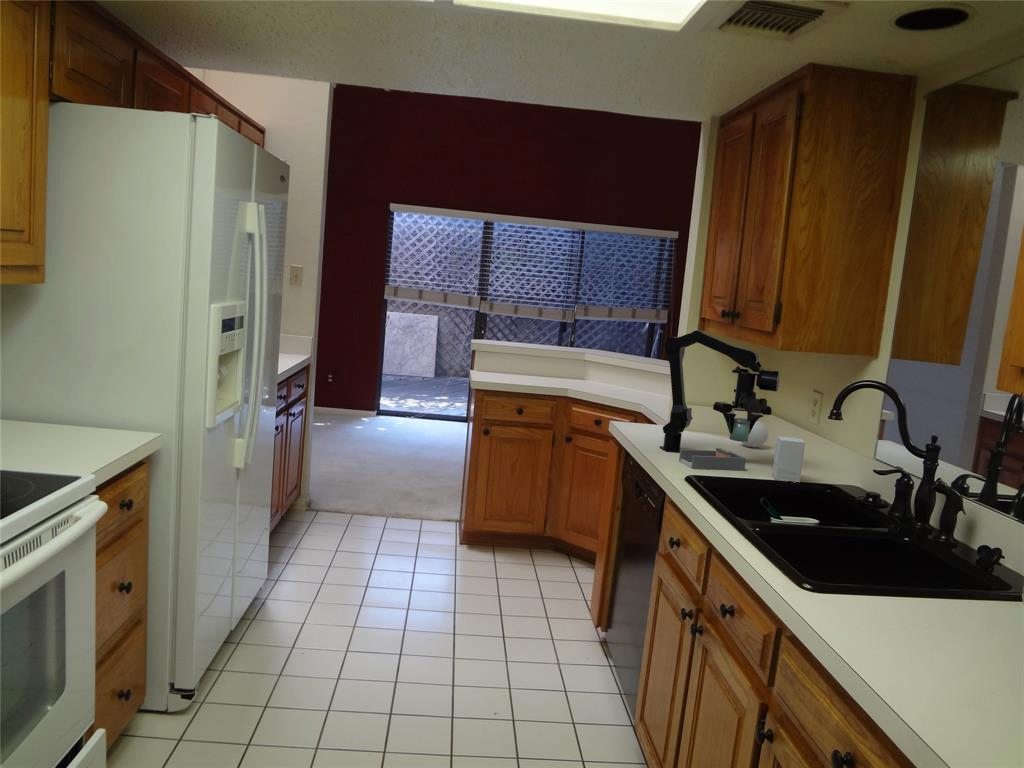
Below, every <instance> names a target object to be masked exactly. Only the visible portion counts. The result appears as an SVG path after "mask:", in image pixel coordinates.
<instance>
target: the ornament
mask: <svg viewBox="0 0 1024 768" xmlns="http://www.w3.org/2000/svg"><path fill="white" fill-rule="evenodd" d="M768 436H769V430H768V427H767V426H766V425H765V423H763V422H762V421H760V420H759V419H758V420H757V421H756V423H755V424H754V426H753V428H752V430H751V432H750V434H749V437H748V442H741V443H742V444H743V445H744V446H746V447H747V448H748V447H749V448H760V447H762V446H764V445H765V443H766V442H767V441H768Z"/></svg>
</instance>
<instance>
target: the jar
mask: <svg viewBox="0 0 1024 768" xmlns="http://www.w3.org/2000/svg"><path fill="white" fill-rule="evenodd" d="M750 424H751V420H749V419H747V418H743V417H735V418H734V424H733V431H732V434H731V433H729V439H728V440H730V441H734V442H740V443H742V442H748V437H749V429H750Z"/></svg>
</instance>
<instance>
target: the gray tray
mask: <svg viewBox="0 0 1024 768" xmlns="http://www.w3.org/2000/svg"><path fill="white" fill-rule="evenodd" d="M727 451H728V452H730V453H732V454H731V457H716V450H711V449H709V450H707V449H704V450H703V449H689V448H687V449H685V448H684V449H683V448H680V452H679V456H678V462H680V463H682V464H683V465H685V466H686V467H688V468H690V469H693V470H714V471H715V470H719V471H745V470H746V463H747V462H746V461H747V458H746V457H744V456H742V455H739V454H737V453H735V452H732V451H731V450H727Z"/></svg>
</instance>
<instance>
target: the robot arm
mask: <svg viewBox="0 0 1024 768" xmlns="http://www.w3.org/2000/svg"><path fill="white" fill-rule="evenodd" d="M694 344H700V345H702V346H703V347H704V346H705V347H706V348H709V349H711V350H713V351H715V352H718V353H720V354H722V355H725V356H726V357H728V358H730V359H731V360H732V361H733V362H734V363H737V365H736V367H735V368H734V369H732V370H731V373H733V374H734V373H735V374H737V379H736V388H734V389H733V393H735V394H734V395H735V396H734V400H732V401H731V403H728V402H726V401H715V402H714V403H713V406H712V409H713V410H714V411H717V412H719V413H721V414H722V415H723V417H724V420H725V423H726V426H727V430H728V432H729V434H730V433H731V434H732V431H733V424H734V418H736V416H737V414H736V413H735V412H737V411H739V412H746V413H747V414H746V416H747V417H746V419H749V420H751V424H750V429H749V434H750V432H751V430H752V428H753V426H754V424H755V423H756V421H757V420H758V421H759V420H760V418H764V416H772V414H773V413H772V412H773V410H772V407H771V406H770V405H768V400H767V399H766V398H762V397H761V398H757V397H756V396H757V393H756V391H755V386H756V387H757V388H758V390H761V391H768V392H776V393H777V392H779V387H780V382H781V381H780V371H779V370H769V369H768V370H767V369H765V368H764V367H763V366H762V364H761V363H760V356H759V353H758V352H757V351H756V350H752V349H749V348H745V347H740V346H735V345H732V344H730V343H728V342H726V341H723V340H721V339H719V338H717V337H715V336H712V335H710V334H708V333H706V332H703V330H699V329H698V330H694V331H692V332H689V333H687V334H684V335H681V336H671V337H668V338H666V339H665V341H664V343H663V349H664V352H665V353H664V354H665V357H666V358H667V361H668V363H669V370H670V371H669V373H670V385H671V397H672V398H671V400H672V406H671V411H670V417H669V422H667V423H666V424H665V425H663V426H662V431H663V432H662V433H663V434H664V436H663V437H664V438H663V445H662V446H661V445H660V446H659V448H660V449H662V450H664V451H665V452H671V453H673V452H675V453H680V449H681V442H682V433H683V432H684V431H685V429H687V428H688V427H689V426H691V422H692V420H693V419H694V418H693V416H692V412H693V411H692V410H693V409H692V407H688V405H687V404H686V392H685V381H684V367H683V361H684V357H685V353H686V351H685V350H686V348H687V347H689V346H692V345H694ZM742 367H743V368H742ZM751 371H752V372H751Z"/></svg>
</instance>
